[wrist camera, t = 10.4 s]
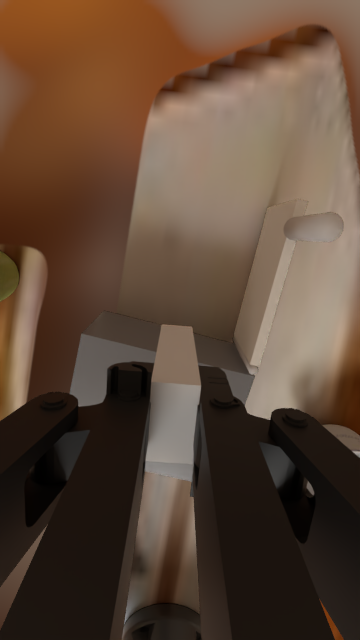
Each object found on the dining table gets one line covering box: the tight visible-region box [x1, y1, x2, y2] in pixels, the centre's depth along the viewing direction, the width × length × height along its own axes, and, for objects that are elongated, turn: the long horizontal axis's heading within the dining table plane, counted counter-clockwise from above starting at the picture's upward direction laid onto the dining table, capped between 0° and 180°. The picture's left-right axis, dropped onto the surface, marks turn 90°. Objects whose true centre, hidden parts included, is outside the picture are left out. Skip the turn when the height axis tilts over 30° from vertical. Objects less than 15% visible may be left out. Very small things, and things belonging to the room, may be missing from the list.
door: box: [233, 199, 344, 375], centre depth 32 cm, size 2×17×17 cm, turn 168°
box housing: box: [70, 311, 255, 482], centre depth 39 cm, size 14×18×10 cm
